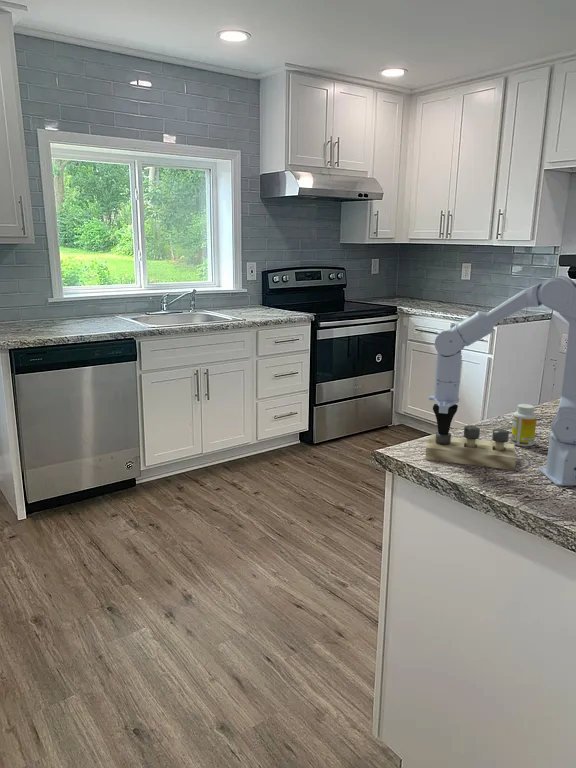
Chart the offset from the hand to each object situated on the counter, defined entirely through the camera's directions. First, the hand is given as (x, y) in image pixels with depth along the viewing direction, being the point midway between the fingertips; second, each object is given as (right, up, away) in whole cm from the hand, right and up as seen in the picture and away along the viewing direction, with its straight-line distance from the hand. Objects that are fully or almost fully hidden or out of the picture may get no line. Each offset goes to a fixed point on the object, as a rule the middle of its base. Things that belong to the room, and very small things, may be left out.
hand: (443, 434), depth 140 cm
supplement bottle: (+23, -3, +9) cm, 25 cm away
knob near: (+12, -4, -3) cm, 13 cm away
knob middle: (+6, -3, -1) cm, 7 cm away
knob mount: (+6, -6, -1) cm, 8 cm away
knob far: (0, -5, +1) cm, 5 cm away
